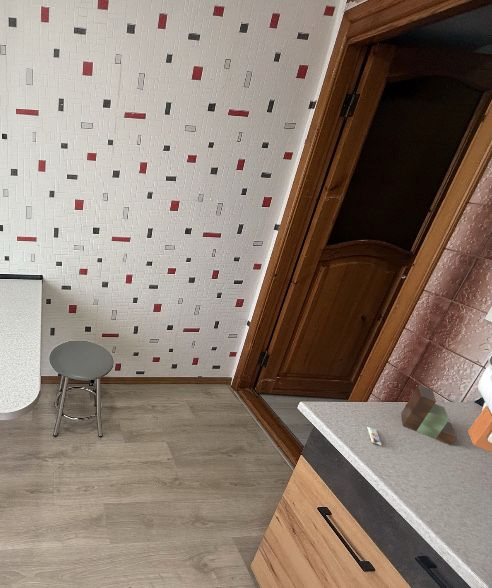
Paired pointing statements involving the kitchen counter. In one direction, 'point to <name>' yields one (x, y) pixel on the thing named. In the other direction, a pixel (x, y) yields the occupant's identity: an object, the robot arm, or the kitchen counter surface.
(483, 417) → the matte orange cuboid
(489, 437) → the robot arm
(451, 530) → the kitchen counter surface
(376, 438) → the granola bar
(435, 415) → the step rack
